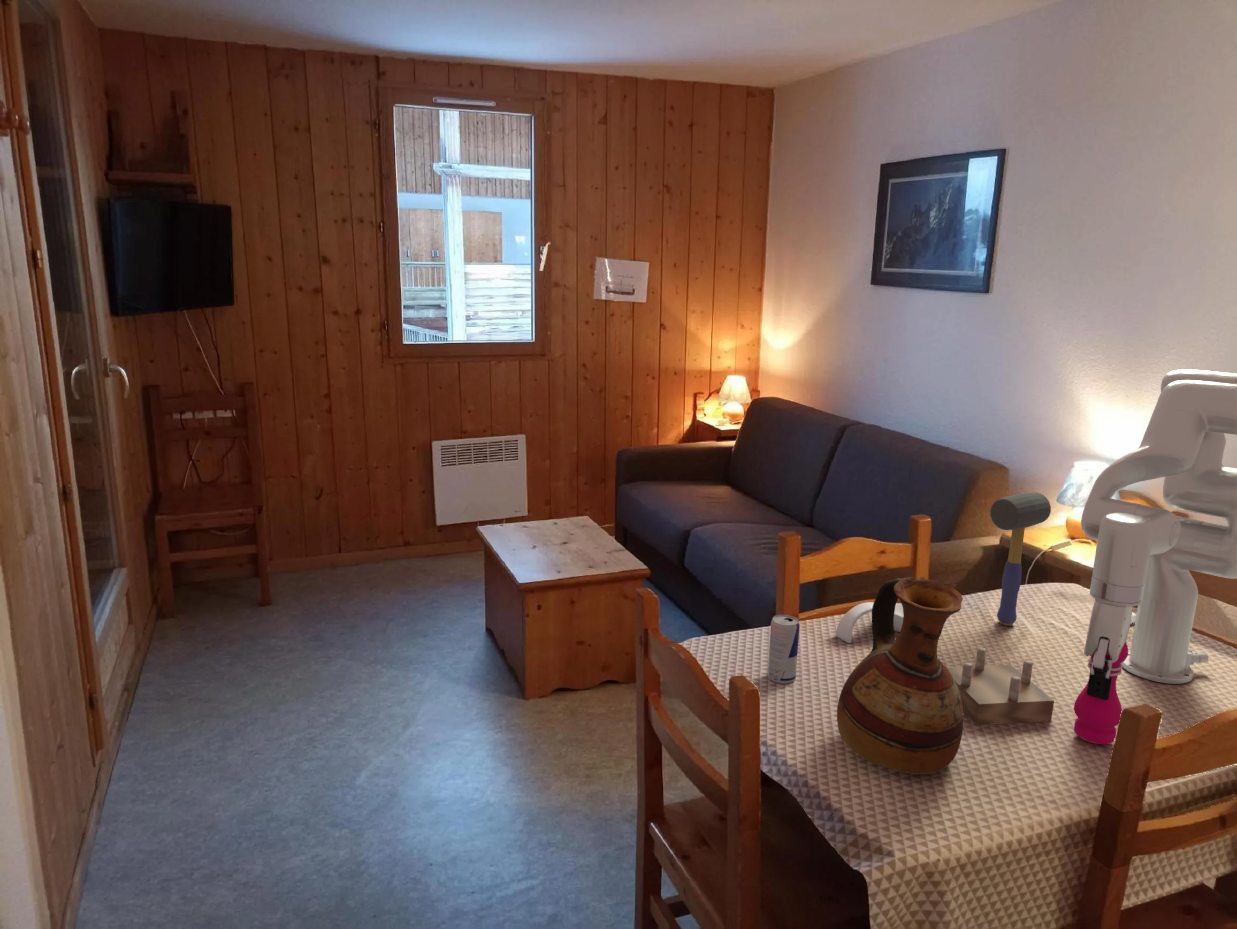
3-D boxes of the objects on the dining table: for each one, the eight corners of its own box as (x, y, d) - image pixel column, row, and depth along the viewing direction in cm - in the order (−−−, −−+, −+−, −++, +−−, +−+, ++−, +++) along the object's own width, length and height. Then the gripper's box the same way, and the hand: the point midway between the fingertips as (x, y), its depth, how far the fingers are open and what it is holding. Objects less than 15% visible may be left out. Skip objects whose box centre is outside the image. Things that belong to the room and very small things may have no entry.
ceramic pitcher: (888, 799, 134) (907, 614, 127) (809, 733, 152) (822, 567, 145) (986, 771, 142) (1009, 595, 135) (900, 712, 160) (916, 553, 153)
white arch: (909, 614, 204) (911, 585, 202) (947, 634, 193) (950, 603, 192) (824, 631, 194) (827, 600, 192) (860, 653, 184) (863, 620, 182)
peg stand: (1008, 683, 171) (1013, 645, 169) (1051, 721, 158) (1057, 679, 156) (939, 686, 169) (943, 647, 168) (976, 724, 156) (981, 683, 154)
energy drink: (801, 678, 172) (805, 620, 169) (785, 687, 168) (789, 628, 165) (777, 669, 175) (781, 612, 173) (762, 677, 172) (765, 619, 169)
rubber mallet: (1002, 635, 193) (1020, 502, 186) (973, 623, 199) (989, 493, 192) (1038, 624, 199) (1056, 494, 192) (1008, 612, 205) (1025, 486, 198)
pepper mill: (1116, 750, 147) (1135, 639, 142) (1068, 738, 150) (1084, 628, 145) (1119, 730, 153) (1137, 623, 148) (1073, 719, 156) (1088, 613, 151)
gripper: (1101, 569, 154) (1087, 665, 158) (1079, 599, 141) (1064, 703, 145) (1151, 579, 149) (1135, 678, 154) (1133, 611, 136) (1116, 718, 141)
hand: (1101, 689), depth 149 cm, fingers closed on pepper mill, 5 cm apart
